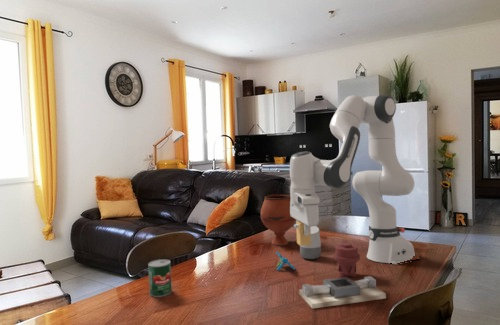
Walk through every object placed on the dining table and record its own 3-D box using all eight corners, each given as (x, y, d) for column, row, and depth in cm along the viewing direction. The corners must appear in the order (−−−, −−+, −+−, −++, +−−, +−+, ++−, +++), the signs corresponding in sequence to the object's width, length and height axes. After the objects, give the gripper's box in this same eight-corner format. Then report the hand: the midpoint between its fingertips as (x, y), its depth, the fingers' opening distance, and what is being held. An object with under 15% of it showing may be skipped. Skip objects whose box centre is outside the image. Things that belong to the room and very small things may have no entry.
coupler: (309, 241, 137) (309, 220, 137) (314, 244, 133) (313, 222, 133) (293, 243, 136) (293, 222, 135) (297, 246, 132) (296, 224, 131)
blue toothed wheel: (298, 269, 146) (280, 252, 146) (289, 280, 145) (270, 263, 145) (292, 264, 157) (275, 248, 157) (283, 274, 156) (266, 259, 156)
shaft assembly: (368, 282, 131) (368, 274, 130) (383, 292, 122) (383, 283, 122) (300, 291, 125) (300, 282, 125) (310, 302, 116) (310, 292, 116)
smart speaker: (297, 259, 163) (296, 229, 162) (302, 253, 172) (302, 224, 171) (318, 261, 160) (318, 230, 159) (322, 255, 168) (322, 225, 167)
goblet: (263, 238, 202) (261, 193, 201) (298, 238, 200) (296, 193, 199) (259, 248, 184) (257, 199, 182) (297, 248, 181) (296, 198, 180)
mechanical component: (366, 276, 140) (346, 281, 136) (347, 269, 149) (328, 273, 144) (365, 245, 140) (345, 249, 135) (347, 239, 149) (327, 243, 144)
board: (366, 284, 132) (366, 280, 132) (385, 298, 120) (385, 293, 120) (298, 293, 126) (298, 289, 126) (312, 308, 115) (312, 304, 115)
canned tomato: (160, 298, 126) (159, 267, 126) (144, 294, 130) (143, 264, 130) (176, 290, 133) (175, 261, 132) (161, 286, 137) (159, 258, 137)
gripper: (285, 193, 143) (286, 228, 144) (304, 200, 123) (305, 241, 124) (300, 192, 144) (301, 226, 145) (321, 199, 124) (322, 239, 125)
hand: (303, 233), depth 134 cm, fingers closed on coupler, 4 cm apart
